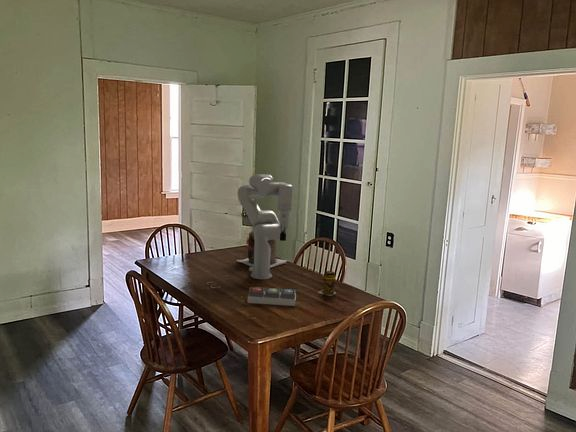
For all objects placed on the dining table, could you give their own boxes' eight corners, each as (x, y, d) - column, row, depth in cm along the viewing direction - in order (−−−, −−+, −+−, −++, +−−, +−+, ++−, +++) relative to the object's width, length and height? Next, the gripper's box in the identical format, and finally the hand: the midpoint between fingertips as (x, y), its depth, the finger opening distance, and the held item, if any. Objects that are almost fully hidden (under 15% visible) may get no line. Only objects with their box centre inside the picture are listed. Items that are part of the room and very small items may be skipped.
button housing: (247, 302, 239) (247, 292, 238) (249, 296, 249) (250, 286, 248) (295, 305, 238) (295, 295, 237) (295, 299, 248) (296, 288, 247)
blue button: (282, 296, 240) (282, 292, 240) (283, 292, 245) (283, 289, 245) (292, 297, 240) (293, 293, 240) (293, 293, 245) (293, 289, 245)
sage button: (266, 295, 240) (267, 291, 240) (267, 291, 246) (267, 288, 245) (277, 296, 240) (277, 292, 240) (277, 292, 245) (277, 288, 245)
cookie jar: (261, 256, 329) (263, 210, 323) (288, 263, 314) (290, 216, 308) (235, 262, 310) (236, 214, 305) (262, 270, 295) (264, 220, 289)
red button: (251, 294, 241) (251, 290, 240) (252, 291, 246) (252, 287, 245) (261, 295, 241) (261, 291, 240) (262, 291, 246) (262, 287, 245)
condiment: (331, 296, 255) (332, 274, 253) (317, 293, 259) (318, 271, 257) (336, 292, 261) (338, 271, 259) (322, 289, 266) (324, 268, 263)
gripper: (290, 209, 249) (289, 243, 252) (291, 205, 264) (290, 237, 267) (276, 208, 249) (274, 243, 252) (278, 204, 264) (276, 237, 267)
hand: (282, 240), depth 260 cm, fingers closed
